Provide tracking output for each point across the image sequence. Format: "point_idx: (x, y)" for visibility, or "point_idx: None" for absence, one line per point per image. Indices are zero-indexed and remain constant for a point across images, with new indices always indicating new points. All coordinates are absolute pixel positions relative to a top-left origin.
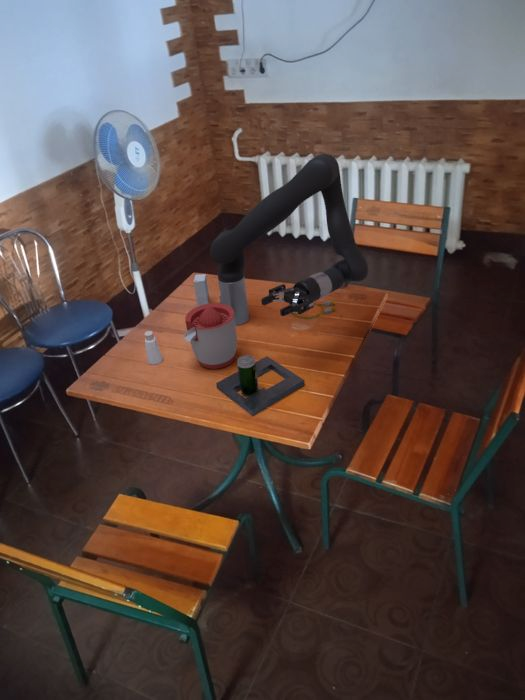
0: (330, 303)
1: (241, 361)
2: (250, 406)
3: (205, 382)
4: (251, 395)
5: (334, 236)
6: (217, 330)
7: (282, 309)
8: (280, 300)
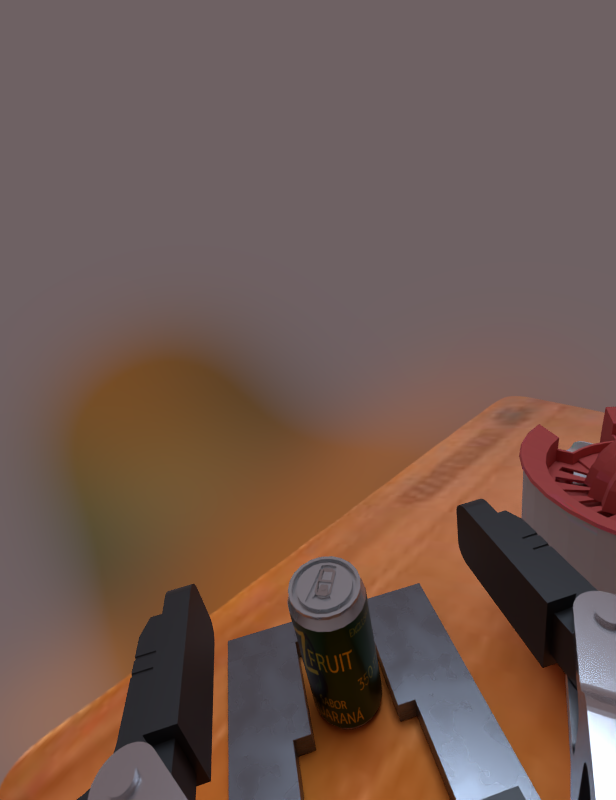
0: None
1: (325, 569)
2: (246, 643)
3: (465, 576)
4: (294, 666)
5: None
6: (530, 490)
7: (171, 596)
8: (572, 793)
